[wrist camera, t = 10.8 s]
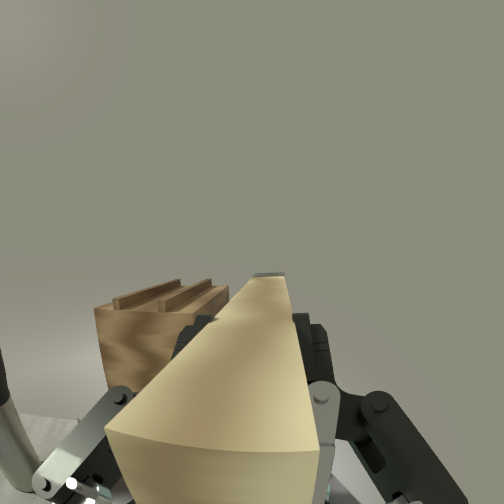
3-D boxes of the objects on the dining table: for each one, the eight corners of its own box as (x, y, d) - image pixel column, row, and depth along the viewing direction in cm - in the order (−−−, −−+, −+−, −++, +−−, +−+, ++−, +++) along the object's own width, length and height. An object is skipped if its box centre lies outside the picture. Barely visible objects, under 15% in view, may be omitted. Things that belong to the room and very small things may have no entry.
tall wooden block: (146, 496, 27) (92, 297, 27) (181, 434, 47) (161, 279, 47) (220, 511, 26) (191, 301, 26) (238, 439, 46) (228, 278, 46)
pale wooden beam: (148, 527, 3) (100, 422, 3) (256, 301, 35) (255, 273, 35) (305, 544, 3) (323, 444, 3) (284, 300, 35) (283, 272, 35)
